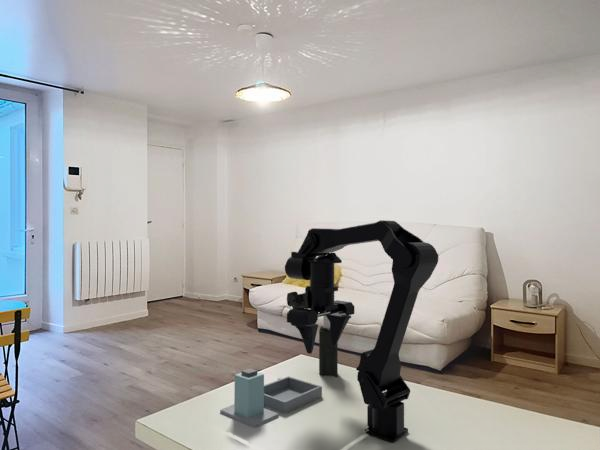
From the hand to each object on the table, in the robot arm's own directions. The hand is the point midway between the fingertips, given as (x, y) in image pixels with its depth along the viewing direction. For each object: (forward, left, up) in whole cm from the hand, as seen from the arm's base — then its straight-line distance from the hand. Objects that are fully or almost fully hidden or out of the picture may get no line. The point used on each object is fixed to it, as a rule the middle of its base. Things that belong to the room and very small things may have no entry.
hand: (322, 349), depth 99 cm
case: (+8, +4, -13) cm, 16 cm away
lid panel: (+8, +16, -13) cm, 22 cm away
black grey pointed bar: (+12, -18, -13) cm, 25 cm away
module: (+8, +15, -12) cm, 21 cm away
